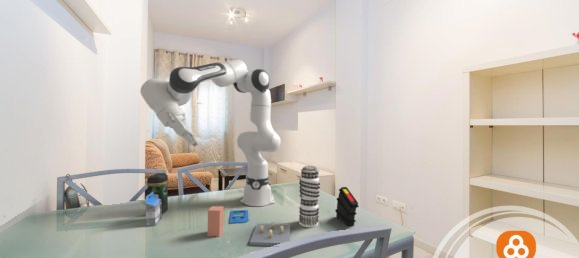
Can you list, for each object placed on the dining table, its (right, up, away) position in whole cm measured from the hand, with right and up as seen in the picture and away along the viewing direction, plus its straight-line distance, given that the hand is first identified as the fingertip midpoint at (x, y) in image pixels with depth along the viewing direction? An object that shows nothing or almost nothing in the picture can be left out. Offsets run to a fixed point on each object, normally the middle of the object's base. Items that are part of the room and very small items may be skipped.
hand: (194, 144), depth 95 cm
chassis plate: (+30, -35, -1) cm, 46 cm away
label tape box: (-22, -34, +10) cm, 42 cm away
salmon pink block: (+8, -35, 0) cm, 36 cm away
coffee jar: (-26, -34, +21) cm, 48 cm away
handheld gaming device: (+14, -35, +18) cm, 42 cm away
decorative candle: (+46, -35, +12) cm, 59 cm away
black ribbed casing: (+63, -36, +14) cm, 74 cm away
